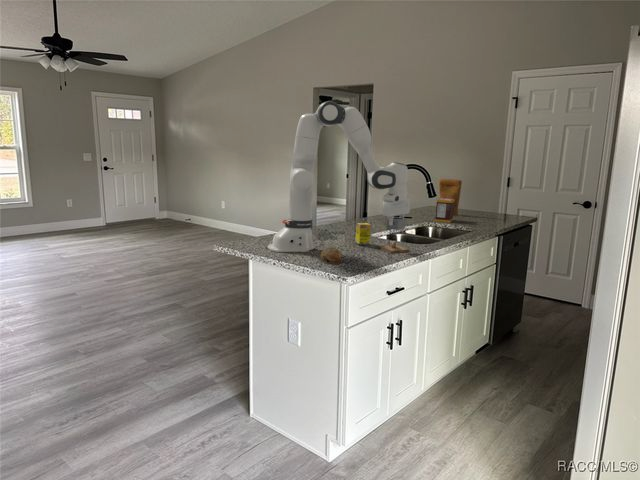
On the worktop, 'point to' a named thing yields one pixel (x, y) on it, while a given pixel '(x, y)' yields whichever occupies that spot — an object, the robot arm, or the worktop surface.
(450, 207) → the supplement box
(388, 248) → the tan flat piece
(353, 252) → the worktop surface
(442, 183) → the pancake mix bag
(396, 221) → the grey hollow block
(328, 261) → the bread roll
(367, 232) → the supplement box
